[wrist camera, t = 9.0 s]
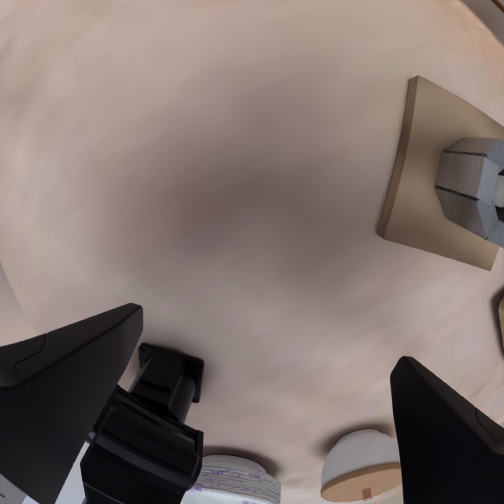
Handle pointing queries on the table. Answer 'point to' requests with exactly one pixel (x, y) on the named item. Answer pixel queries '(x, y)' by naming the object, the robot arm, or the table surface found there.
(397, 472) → the lidded jar
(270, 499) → the paper bowls
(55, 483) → the robot arm
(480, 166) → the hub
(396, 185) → the block
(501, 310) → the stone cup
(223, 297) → the table surface
